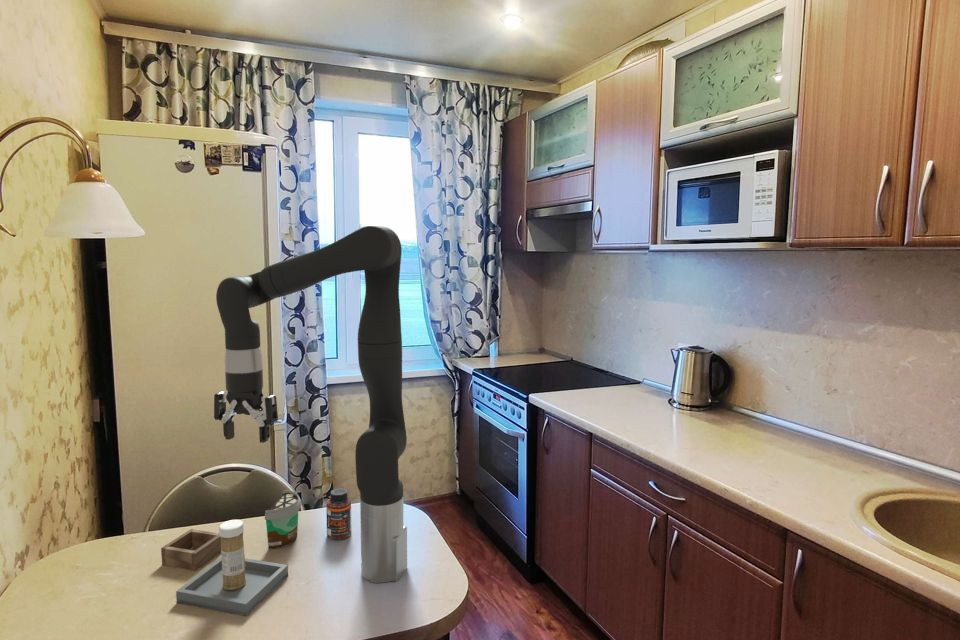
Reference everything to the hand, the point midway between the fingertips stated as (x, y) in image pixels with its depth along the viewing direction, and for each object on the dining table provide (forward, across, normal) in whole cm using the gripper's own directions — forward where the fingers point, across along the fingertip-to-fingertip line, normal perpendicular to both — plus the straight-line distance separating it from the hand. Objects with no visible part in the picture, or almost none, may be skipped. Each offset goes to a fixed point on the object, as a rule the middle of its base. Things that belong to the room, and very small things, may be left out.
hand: (246, 440), depth 124 cm
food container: (+28, -3, -11) cm, 31 cm away
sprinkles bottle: (+28, -3, +10) cm, 30 cm away
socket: (+28, +14, +2) cm, 31 cm away
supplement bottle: (+28, -14, -15) cm, 35 cm away
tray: (+28, -3, +10) cm, 30 cm away
